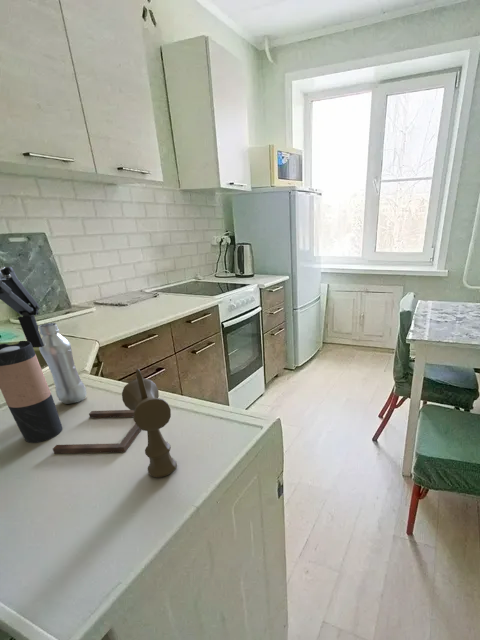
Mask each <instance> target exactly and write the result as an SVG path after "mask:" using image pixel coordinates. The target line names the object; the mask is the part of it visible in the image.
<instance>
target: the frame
mask: <svg viewBox="0 0 480 640" xmlns="http://www.w3.org/2000/svg"><path fill="white" fill-rule="evenodd" d="M88 415H89V418H90V419H103V418H104V419H108V418H134V410H130V409H115V410H111V409H110V410H91V411H90V412H89V413H88ZM141 431H142V429H140V428H139V427H138V426H137V425H136V423H135V422H134V425H132V427H131V428H130V430H129V431H128V432H127V433H126V435H125V436H124V438H122V440H121V442H119V443H116V442H115V443H80V444H79V443H78V444H74V443H73V444H56V445H55V446H54V447H53V448H52V453H54V454H55V455H56V454H59V455H61V454H97V453H98V454H99V453H100V454H101V453H102V454H103V453H104V454H105V453H107V454H108V453H126V452H127V450H128V449H129V447H130V446H131V445H132V443H133V442H134V441H135V439H136V438H137V436H138V435H139V434H140V433H141Z"/></svg>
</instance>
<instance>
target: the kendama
mask: <svg viewBox="0 0 480 640" xmlns="http://www.w3.org/2000/svg"><path fill="white" fill-rule="evenodd" d="M135 375H136V379H133V380H131V381H129V382H128V383H126V385H124V386H123V389H122V392H121V398H122V399H121V400H122V402H123V405H124V407H126V408H127V409H128V410H134V417H133V421H134V424H135V423H136V425H137V426H138V427H139V428H140V429H141V431H143V432H147V433H146V434H147V446H146V447H145V449H144V454H145V456H146V457H148V459H149V464H148V465H147V474H149V475H150V476H151V477H153V478H163V477H166V476H168V475H171V474H172V473H173V472H174V471H176V470H177V467H178V463H177V460H176V459H175V458H173V457H172V456H171V453H170V451H171V448H172V447H171V444H170V443H169V442H168V441H166V440H165V438H164V437H163V434H162V432H161V430H160V429H162V428H164V427H165V426H166V425H167V424H168V423H169V422H170V418H171V415H172V413H171V412H172V411H171V410H172V409H171V407H170V405H169V403H168V402H167V401H166V400H165V399H163V398H161V397H160V398H159V396H160V395H159V394H160V393H159V388H158V386H157V384H156V383H155V382H154V381H153V380H151V379H148V378H144V377H143V375H142V372H141V370H140V369H139V368H137V369H135Z"/></svg>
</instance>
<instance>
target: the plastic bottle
mask: <svg viewBox="0 0 480 640" xmlns="http://www.w3.org/2000/svg"><path fill="white" fill-rule="evenodd" d="M38 331H39V333H40V336H41V339H42V341H43V344H44V346H43V347H38V349H39V352H40V354H41V356H42V357H43V359H44V361H45V363H46V365H47V367H48V369H49V371H50V374H51V377H52V380H53V384H54V389H55V395H56V397H57V399H58V400H59V402H61V403H63V404H66V405H69V404H70V405H71V404H75V403H78V402H81V401H82V400H84V399H85V398H86V397H87V393H88V392H87V387H86V386H85V383H84V382H83V380H82V379H81V377H80V375H79V372H78V370H77V368H76V365H75V360H74V356H73V351H72V346H71V342H70V341H69V340H68V339H67V338H66V337H64V336H63V335H62V334H61V333H59V332H60V329H59V327H58V324H57V323H56V322H48V323H43V324H40V325H38Z"/></svg>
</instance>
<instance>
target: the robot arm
mask: <svg viewBox="0 0 480 640" xmlns="http://www.w3.org/2000/svg"><path fill="white" fill-rule="evenodd" d="M0 300H1V301H2V302H3V303H4V304H6V305H7V306H8V307H10V309H12V310H14V311H15V312H16V313H18V314H19V315H20V316H18V317H17V319H18V323H19V325H20V327H21V330H22V332H23V334H24V337H25V339H26V341H29V342H31V344H32V346H33V348H39V347H43V346H44V344H43V341H42V335H41V334H40V330H39V325H38V322H37V320H36V317H35V316H38V315H39V314H40V313H39V310H40V305H39V303H38V302H37V301H36V300H35V298H34V297H33V296H32V295H31V293H30V292H29V291H28V290H27V288H26V287H25V286H24V285H23V284H22V282H21V280H20V279H19V278H18V277H17V275H16V272H15V270H14V268H13V267H12V266H0Z"/></svg>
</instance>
